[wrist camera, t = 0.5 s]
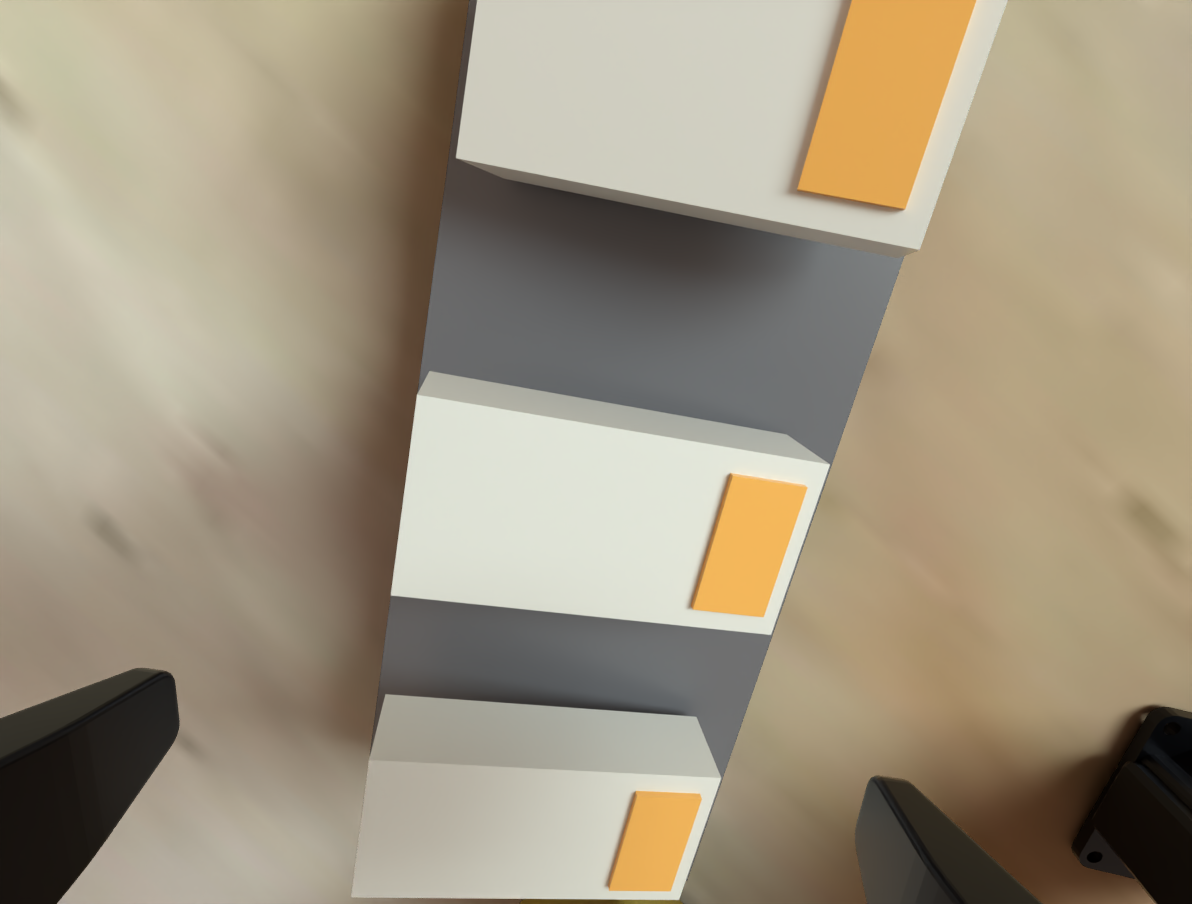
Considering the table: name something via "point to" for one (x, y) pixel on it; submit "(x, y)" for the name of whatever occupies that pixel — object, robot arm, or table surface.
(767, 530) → the block
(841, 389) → the power strip
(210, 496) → the table surface
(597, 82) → the rocker
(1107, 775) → the table surface
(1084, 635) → the table surface
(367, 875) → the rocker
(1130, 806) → the robot arm
